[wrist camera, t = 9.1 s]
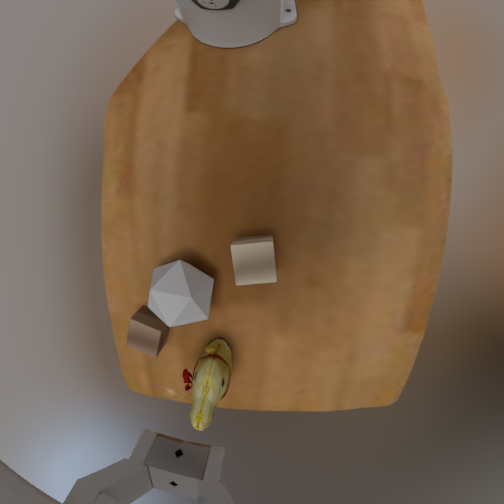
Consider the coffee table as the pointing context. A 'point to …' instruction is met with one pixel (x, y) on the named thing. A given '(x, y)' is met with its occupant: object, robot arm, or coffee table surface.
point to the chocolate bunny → (209, 382)
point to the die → (180, 293)
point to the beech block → (254, 260)
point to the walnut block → (147, 332)
